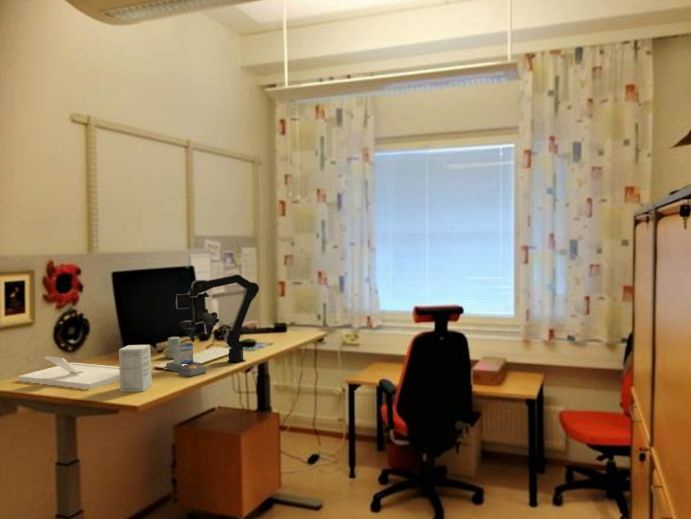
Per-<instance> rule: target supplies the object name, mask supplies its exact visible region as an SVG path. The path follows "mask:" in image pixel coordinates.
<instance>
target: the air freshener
mask: <svg viewBox="0 0 691 519" xmlns="http://www.w3.org/2000/svg"><path fill="white" fill-rule="evenodd" d="M178 344H182V343H181V337H180V336H171V337H168V339H167V346H166V347H165V348H164V349H163V352H162V354H163V356H164V357H166V358H167V359H171V360H174V351H173V346H174V345H178Z"/></svg>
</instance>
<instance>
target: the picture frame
mask: <svg viewBox="0 0 691 519" xmlns="http://www.w3.org/2000/svg"><path fill="white" fill-rule="evenodd" d="M44 359H46V360H47V361H49V362H50V363H52V364H54V365H56V366H52V367H49V368H44V369H41V370H37V371H33V372H29V373H25V374H20V375H18V376H17V377H18V379H17V380H18V382H19V381H22V382H21V383H25V382H33V383H42V384H49V385H48V386H50V385H59V386H66V387H65V388H68V387H76V388H85V389H92V388H95V387H98V386H101V387H103V386H102V385H104V386H106V385H105V384H107V385H109V383H110V384H113V383H116V382H120V370H119V366H116V365H102V364H94V363H92V364H91V363H82V362H68V361H67V360H66V359H65V358H64V357H61V356H60V357H59V356H48V355H45V356H44ZM112 382H113V383H112ZM33 383H32V384H33ZM42 384H41V385H42ZM59 386H58V387H59ZM76 388H75V389H76ZM98 388H99V387H98ZM85 389H84V390H85ZM95 389H96V388H95ZM92 390H93V389H92Z"/></svg>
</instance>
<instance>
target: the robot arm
mask: <svg viewBox="0 0 691 519" xmlns="http://www.w3.org/2000/svg"><path fill="white" fill-rule="evenodd" d="M233 284H238V285H239V286H240V287H241V288H243V293H242V299H241V302H240V305H239V308H238V310H237V312H236V315H235V318H234V321H233V324H232V326H231V327H230V328H226V332H225V333H224V335H223V337H224V343H225V344H226V345H227V346H228V347H229V349H228V360H226V362H228V363H233V364H238V363H242V362H246V359H244V347H245V345H244V344H243V343H242V342H241V341H240V340H241V339H240V338H241V329H242V327H243V323H244V321H245V318H246V315H247V314H248V311H249V308H250V306H251V303H252V301H253V300H254V299H255V298H256V296H257V294H258V293H259V290H260V287H259V285H258V283H256V282H253V281H249V280H248V279H246V278H244V277H243V276H242V275H240V274H237V273H236V274H233V275H227V276H223V277H219V278H218V277H217V278H214V279H196V280H193V281H192V283H191V288H190V289H189V291H188V292H187V293H183V294H180V293H177V294H175V296H176V298H175V308H176V309H177V310H181V309H182V310H183V309H184V310H185V309H190V307H192V309H191V313H193V318H191V320H184V321H181V322H180V323H179V327H180V329H182V330H184V331H185V332H186V333H187V335H188V337H189V339H190V340H191V343H195V330H196V326H198V325H202V324H204V325H205V330H206V331H205V332H206V337H207V339H211V336H212V333H213V330H214V328H215V326H217V324H218V323H220V317H219V316H218V313H217V312H216V311H213V312H211V313H210V312H209V310H208V308H206V298H209V297H210V295H209V294H208V293H207V291H209V290H211V289H214V288H219V287H223V286H227V285H228V286H229V285H233Z"/></svg>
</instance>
